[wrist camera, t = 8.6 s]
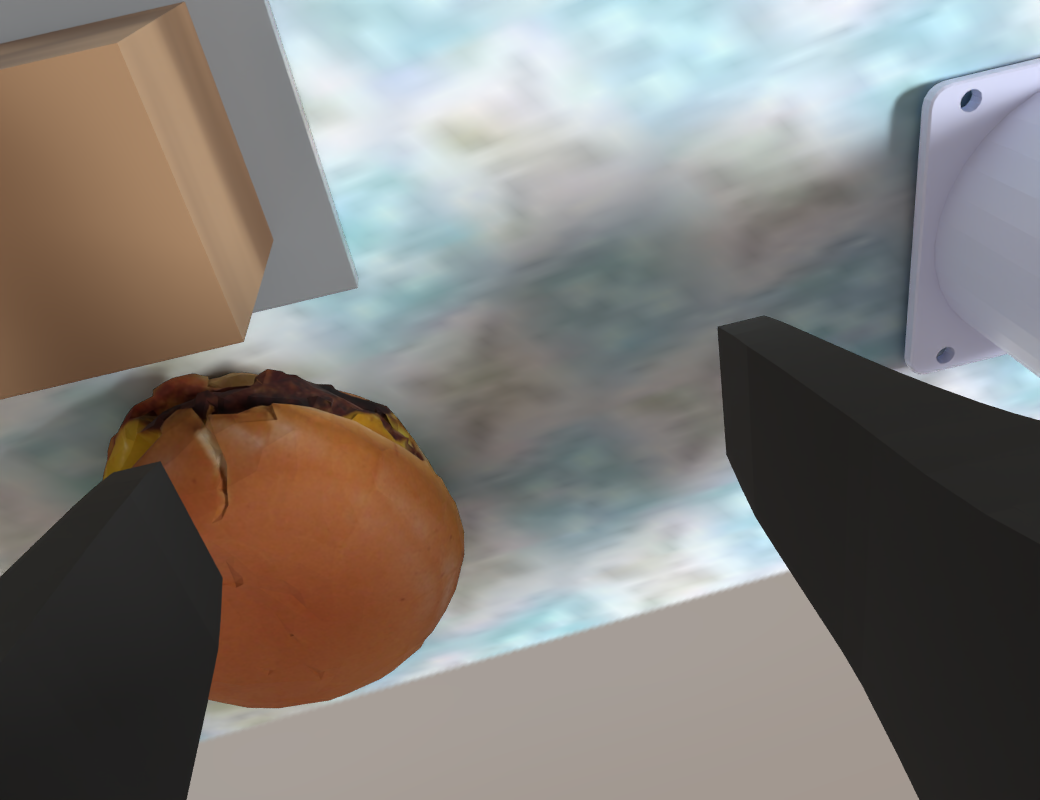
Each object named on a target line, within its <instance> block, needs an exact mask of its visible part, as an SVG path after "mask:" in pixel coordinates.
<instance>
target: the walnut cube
mask: <svg viewBox="0 0 1040 800" xmlns="http://www.w3.org/2000/svg"><path fill="white" fill-rule="evenodd" d="M273 240H274V239H273V237H272V234H271V231H270V229H269V226H268V223H267V221H266V218H265V215H264V213H263V210H262V207H261V205H260V202H259V199H258V197H257V194H256V191H255V188H254V186H253V183H252V180H251V178H250V175H249V172H248V170H247V167H246V164H245V162H244V159H243V156H242V154H241V151H240V148H239V146H238V143H237V140H236V137H235V135H234V132H233V129H232V127H231V124H230V121H229V119H228V116H227V113H226V111H225V108H224V105H223V103H222V100H221V97H220V95H219V92H218V89H217V87H216V84H215V81H214V78H213V76H212V73H211V70H210V68H209V65H208V62H207V60H206V57H205V54H204V52H203V49H202V46H201V44H200V41H199V38H198V36H197V33H196V30H195V27H194V25H193V22H192V19H191V17H190V14H189V11H188V9H187V6H186V3H185V2H181V3H176V4H172V5H167V6H163V7H159V8H154V9H150V10H146V11H141V12H137V13H132V14H128V15H124V16H119V17H115V18H111V19H106V20H102V21H97V22H93V23H89V24H84V25H80V26H76V27H71V28H67V29H62V30H58V31H54V32H49V33H45V34H41V35H36V36H32V37H27V38H23V39H19V40H14V41H10V42H6V43H1V44H0V400H1V399H5V398H9V397H13V396H17V395H22V394H26V393H30V392H34V391H38V390H43V389H47V388H51V387H55V386H60V385H64V384H68V383H72V382H76V381H81V380H85V379H89V378H93V377H97V376H102V375H106V374H110V373H114V372H119V371H123V370H127V369H131V368H135V367H140V366H144V365H148V364H152V363H156V362H161V361H165V360H169V359H173V358H177V357H182V356H186V355H190V354H194V353H199V352H203V351H207V350H211V349H215V348H220V347H224V346H228V345H232V344H236V343H241V342H244V339H245V336H246V332H247V329H248V326H249V322H250V319H251V315H252V312H253V309H254V305H255V302H256V298H257V295H258V292H259V288H260V285H261V281H262V278H263V274H264V271H265V268H266V264H267V261H268V257H269V254H270V251H271V247H272V244H273Z"/></svg>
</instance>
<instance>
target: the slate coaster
mask: <svg viewBox="0 0 1040 800" xmlns="http://www.w3.org/2000/svg"><path fill="white" fill-rule="evenodd" d="M181 2H185V3H186V6H187V9H188V11H189V14H190V17H191V19H192V22H193V25H194V27H195V30H196V33H197V36H198V38H199V41H200V44H201V46H202V49H203V52H204V54H205V57H206V60H207V62H208V65H209V68H210V70H211V73H212V76H213V78H214V81H215V84H216V87H217V89H218V92H219V95H220V97H221V100H222V103H223V105H224V108H225V111H226V113H227V116H228V119H229V121H230V124H231V127H232V129H233V132H234V135H235V137H236V140H237V143H238V146H239V148H240V151H241V154H242V156H243V159H244V162H245V164H246V167H247V170H248V172H249V175H250V178H251V180H252V183H253V186H254V188H255V191H256V194H257V197H258V199H259V202H260V205H261V207H262V210H263V213H264V215H265V218H266V221H267V223H268V226H269V229H270V231H271V234H272V237H273V239H274V240H273V244H272V247H271V251H270V254H269V257H268V261H267V264H266V268H265V271H264V274H263V278H262V281H261V285H260V288H259V292H258V295H257V298H256V302H255V305H254V309H253V312H252V313H255V312H259V311H263V310H267V309H271V308H276V307H280V306H284V305H288V304H292V303H297V302H301V301H305V300H309V299H313V298H318V297H322V296H326V295H330V294H334V293H339V292H343V291H347V290H351V289H355V288H358V275H357V272H356V269H355V266H354V263H353V260H352V257H351V254H350V251H349V248H348V245H347V242H346V238H345V235H344V232H343V229H342V226H341V223H340V220H339V217H338V214H337V211H336V208H335V204H334V201H333V198H332V195H331V192H330V189H329V186H328V183H327V180H326V177H325V174H324V170H323V167H322V164H321V161H320V158H319V155H318V152H317V149H316V146H315V143H314V140H313V136H312V133H311V130H310V127H309V124H308V121H307V118H306V115H305V112H304V109H303V106H302V103H301V99H300V96H299V93H298V90H297V87H296V84H295V81H294V78H293V75H292V72H291V69H290V65H289V62H288V59H287V56H286V53H285V50H284V47H283V44H282V41H281V38H280V35H279V31H278V28H277V25H276V22H275V19H274V16H273V13H272V10H271V7H270V4H269V1H268V0H0V44H1V43H6V42H10V41H14V40H19V39H23V38H27V37H32V36H36V35H41V34H45V33H49V32H54V31H58V30H62V29H67V28H71V27H76V26H80V25H84V24H89V23H93V22H97V21H102V20H106V19H111V18H115V17H119V16H124V15H128V14H132V13H137V12H141V11H146V10H150V9H154V8H159V7H163V6H167V5H172V4H176V3H181Z"/></svg>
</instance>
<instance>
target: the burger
mask: <svg viewBox="0 0 1040 800" xmlns="http://www.w3.org/2000/svg"><path fill="white" fill-rule="evenodd" d="M159 461H161V463H162V465H163V467H164V469H165V471H166V472H167V474H168V476H169V478H170V480H171V482H172V484H173V485H174V487H175V489H176V491H177V493H178V495H179V497H180V499H181V500H182V502H183V504H184V506H185V508H186V510H187V512H188V514H189V515H190V517H191V519H192V521H193V523H194V525H195V527H196V529H197V530H198V532H199V534H200V536H201V538H202V540H203V542H204V543H205V545H206V547H207V549H208V551H209V553H210V555H211V557H212V558H213V560H214V562H215V564H216V566H217V568H218V570H219V572H220V573H221V575H222V577H223V583H222V605H221V623H220V635H219V648H218V653H217V658H216V664H215V669H214V674H213V678H212V683H211V688H210V693H209V698H208V700H212V701H217V702H222V703H227V704H232V705H237V706H242V707H247V708H283V707H289V706H295V705H302V704H308V703H315V702H322V701H328V700H332V699H334V698H337V697H340V696H342V695H345V694H348V693H350V692H352V691H354V690H357V689H359V688H361V687H363V686H365V685H368V684H370V683H372V682H374V681H377V680H379V679H381V678H382V677H384V676H385V675H387V674H389V673H390V672H392V671H393V670H394V669H395V668H397V667H398V666H399V665H400V664H401V663H403V662H404V661H405V660H406V659H407V658H409V657H410V656H411V655H412V654H413V653H415V652H416V651H417V650H418V649H419V648H421V646H422V644H423V642H424V640H425V639H426V638H427V637H428V636H429V635H430V634H431V633H432V631H433V630H434V629H435V627H436V625H437V624H438V622H439V620H440V619H441V617H442V616H443V614H444V612H445V611H446V609H447V607H448V605H449V603H450V600H451V598H452V596H453V594H454V592H455V590H456V586H457V582H458V578H459V574H460V570H461V566H462V562H463V558H464V530H463V526H462V523H461V519H460V516H459V513H458V509H457V506H456V503H455V502H454V500H453V498H452V497H451V495H450V494H449V492H448V490H447V488H446V486H445V484H444V482H443V480H442V479H441V478H440V477H439V476H438V475H436V473H435V472H434V470H433V468H432V467H431V465H430V463H429V461H428V459H427V458H426V457H425V455H424V454H423V453H422V451H421V450H420V448H419V447H418V445H417V444H416V442H415V440H414V439H413V438H412V436H411V435H410V434H409V433H408V431H407V430H406V429H405V427H404V426H403V425H402V423H401V422H400V421H399V419H398V418H397V417H396V416H395V415H394V414H393V413H392V412H391V410H390V409H389V408H388V407H387V406H384V405H381V404H378V403H375V402H372V401H370V400H367V399H365V398H362V397H360V396H357V395H354V394H350V393H346V392H342V391H338V390H335V388H334V387H333V386H332V385H326V384H314V383H311V382H308V381H306V380H303V379H301V378H300V377H298V376H297V375H289V374H285V373H284V372H282V371H276V370H270V369H267V370H265V371H263V372H262V373H260V374H259V375H256V374H250V373H230V374H227V375H225V376H222V377H218V378H213V379H209V380H208V376H203V375H198V374H188V375H184V376H179V377H175V378H172V379H170V380H168V381H166V382H164V383H162V384H161V385H159V386H158V387H157V388H155V389H154V390H153V396H152V397H150V398H148V399H146V400H145V401H143V402H141V403H139V404H137V405H135V406H134V407H133V408H132V409H131V410H130V411H129V413H128V414H127V415H126V417H125V419H124V421H123V423H122V425H121V427H120V429H119V431H118V433H117V434H115V435H114V436H113V437H112V438H111V440H110V444H109V448H108V457H107V463H106V466H105V470H104V474H103V480H104V479H105V478H107V477H108V476H109V475H110V474H112V473H113V472H117V471H121V470H125V469H130V468H134V467H138V466H142V465H146V464H150V463H155V462H159Z"/></svg>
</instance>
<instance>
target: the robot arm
mask: <svg viewBox="0 0 1040 800" xmlns="http://www.w3.org/2000/svg"><path fill="white" fill-rule="evenodd" d="M969 90H971V91H972V96H971V99H970V101H969V102H968V104H967V105H966V106H964V107H962V108H961V106H960V102H961V99H962V97H963V96H964V94H965V93H966V92H967V91H969ZM718 341H719V355H720V369H721V384H722V398H723V412H724V427H725V441H726V455H727V457H728V459H729V461H730V464H731V466H732V468H733V470H734V472H735V475H736V477H737V479H738V481H739V484H740V486H741V488H742V490H743V492H744V494H745V496H746V498H747V501H748V503H749V505H750V507H751V509H752V511H753V513H754V515H755V517H756V519H757V520H758V522H759V523H760V525H761V527H762V528H763V530H764V531H765V533H766V535H767V536H768V538H769V539H770V541H771V542H772V544H773V545H774V547H775V549H776V550H777V552H778V553H779V555H780V556H781V558H782V560H783V561H784V563H785V564H786V566H787V567H788V569H789V570H790V572H791V573H792V575H793V577H794V578H795V580H796V581H797V582H798V584H799V586H800V587H801V589H802V590H803V592H804V593H805V595H806V597H807V598H808V600H809V601H810V603H811V604H812V605H813V607H814V609H815V610H816V612H817V613H818V615H819V616H820V618H821V619H822V621H823V623H824V624H825V626H826V627H827V629H828V630H829V632H830V633H831V635H832V636H833V638H834V639H835V641H836V643H837V644H838V646H839V647H840V649H841V650H842V652H843V654H844V655H845V657H846V658H847V660H848V662H849V664H850V665H851V667H852V669H853V670H854V672H855V674H856V676H857V677H858V679H859V681H860V682H861V684H862V686H863V688H864V690H865V692H866V694H867V696H868V697H869V700H870V702H871V704H872V706H873V708H874V710H875V711H876V713H877V715H878V717H879V719H880V721H881V723H882V725H883V727H884V729H885V731H886V733H887V735H888V737H889V739H890V741H891V742H892V745H893V747H894V749H895V751H896V753H897V754H898V757H899V759H900V761H901V763H902V765H903V767H904V769H905V771H906V773H907V775H908V777H909V779H910V781H911V783H912V785H913V788H914V790H915V792H916V794H917V796H918V798H919V800H1040V420H1036V419H1032V418H1029V417H1025V416H1022V415H1018V414H1015V413H1011V412H1008V411H1005V410H1002V409H999V408H996V407H992V406H989V405H986V404H983V403H980V402H977V401H975V400H972V399H969V398H966V397H963V396H961V395H958V394H955V393H952V392H949V391H947V390H944V389H941V388H938V387H935V386H933V385H930V384H927V383H925V382H922V381H920V380H917V379H914V378H912V377H909V376H907V375H904V374H902V373H899V372H897V371H894V370H892V369H890V368H887V367H885V366H882V365H880V364H878V363H875V362H873V361H870V360H868V359H866V358H863V357H861V356H859V355H856V354H854V353H852V352H850V351H847V350H845V349H843V348H840V347H838V346H836V345H834V344H831V343H829V342H827V341H825V340H822V339H820V338H818V337H816V336H813V335H811V334H809V333H807V332H804V331H802V330H800V329H797V328H795V327H793V326H790V325H788V324H786V323H783V322H781V321H778V320H775V319H773V318H770V317H767V316H760V317H756V318H752V319H748V320H744V321H740V322H736V323H731V324H727V325H723V326H719V327H718ZM943 348H946V350H945V351H944V352H943V353H942V355H939V356H937V354H938V353H939V352H940V351H941V349H943ZM1005 354H1008V355H1010V356H1011V357H1013V358H1014V359H1015V360H1017V361H1018V362H1019V363H1021V364H1022V365H1023V366H1025V367H1026V368H1027V369H1029V370H1030V371H1031V372H1033V373H1034V374H1035V375H1037V376H1038V377H1039V378H1040V58H1038V59H1034V60H1029V61H1025V62H1021V63H1017V64H1013V65H1008V66H1004V67H1000V68H996V69H991V70H987V71H983V72H979V73H974V74H970V75H966V76H962V77H958V78H953V79H949V80H945V81H942V82H940V83H938V84H936V85H935V86H933V87H932V88H931V89H930V90H929V91H928V93H927V95H926V96H925V98H924V101H923V105H922V113H921V127H920V141H919V156H918V170H917V184H916V199H915V213H914V227H913V242H912V256H911V270H910V285H909V299H908V313H907V328H906V342H905V356H904V358H905V363H906V365H907V366H908V367H909V368H910V369H911V370H912V371H913V372H915V373H918V374H927V373H931V372H935V371H939V370H943V369H948V368H952V367H956V366H960V365H964V364H968V363H972V362H976V361H980V360H985V359H989V358H993V357H997V356H1001V355H1005ZM222 583H223V577H222V575H221V573H220V572H219V570H218V568H217V566H216V564H215V562H214V560H213V558H212V557H211V555H210V553H209V551H208V549H207V547H206V545H205V543H204V542H203V540H202V538H201V536H200V534H199V532H198V530H197V529H196V527H195V525H194V523H193V521H192V519H191V517H190V515H189V514H188V512H187V510H186V508H185V506H184V504H183V502H182V500H181V499H180V497H179V495H178V493H177V491H176V489H175V487H174V485H173V484H172V482H171V480H170V478H169V476H168V474H167V472H166V471H165V469H164V467H163V465H162V463H161V461H159V462H155V463H150V464H146V465H142V466H138V467H134V468H130V469H125V470H121V471H117V472H113V473H112V474H110V475H109V476H108V477H107V478H105V479H104V480H103V481H101V482H100V483H99V484H98V485H97V486H95V487H94V488H93V489H92V490H91V491H90V492H89V493H88V494H86V495H85V496H84V497H83V498H82V499H81V500H80V501H79V502H78V503H77V504H76V505H74V506H73V507H72V508H71V509H70V510H69V511H68V512H67V513H66V514H65V515H64V516H63V517H62V518H61V519H60V520H59V521H58V522H57V523H56V524H55V525H54V526H53V527H52V528H50V529H49V530H48V531H47V532H46V533H45V534H44V535H43V536H42V537H41V538H40V539H39V540H38V541H37V542H36V543H35V544H34V545H33V546H32V547H31V548H30V549H29V550H28V551H27V552H26V553H25V554H24V555H23V556H22V557H21V558H19V559H18V560H17V561H16V562H15V563H14V564H13V565H12V566H11V567H10V568H9V569H8V570H7V571H6V572H5V573H4V574H3V575H2V576H1V577H0V800H186V799H187V795H188V790H189V785H190V781H191V776H192V772H193V767H194V762H195V758H196V753H197V748H198V744H199V739H200V735H201V730H202V726H203V721H204V717H205V712H206V707H207V703H208V698H209V693H210V688H211V683H212V678H213V674H214V669H215V664H216V658H217V653H218V648H219V635H220V623H221V605H222Z"/></svg>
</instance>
